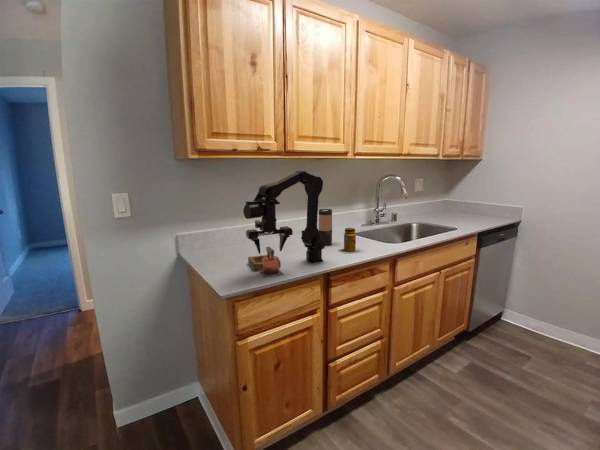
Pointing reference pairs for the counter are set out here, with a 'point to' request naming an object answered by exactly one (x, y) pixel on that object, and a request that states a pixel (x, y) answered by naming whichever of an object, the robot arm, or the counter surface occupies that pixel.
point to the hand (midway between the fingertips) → (270, 252)
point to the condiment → (349, 241)
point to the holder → (257, 262)
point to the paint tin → (270, 262)
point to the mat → (270, 275)
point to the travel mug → (325, 226)
